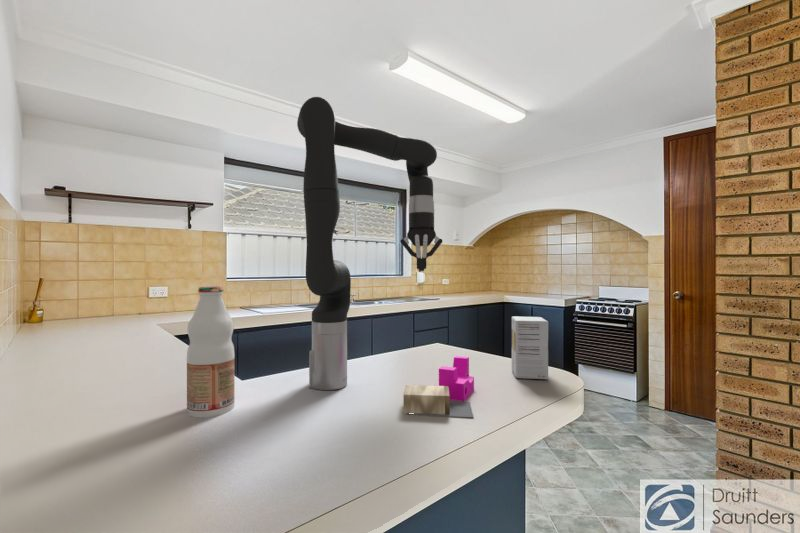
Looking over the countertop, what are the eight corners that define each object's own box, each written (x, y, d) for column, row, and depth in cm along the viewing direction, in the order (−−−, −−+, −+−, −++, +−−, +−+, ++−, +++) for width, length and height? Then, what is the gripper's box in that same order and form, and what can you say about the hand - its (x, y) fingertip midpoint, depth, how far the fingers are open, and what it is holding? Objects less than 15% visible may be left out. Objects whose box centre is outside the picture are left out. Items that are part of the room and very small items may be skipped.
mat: (398, 416, 84) (398, 414, 84) (402, 401, 93) (402, 400, 93) (473, 418, 83) (473, 416, 83) (469, 403, 92) (469, 402, 92)
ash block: (449, 414, 84) (403, 413, 85) (448, 403, 91) (405, 401, 92) (449, 395, 84) (403, 394, 85) (448, 386, 91) (405, 385, 92)
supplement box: (511, 369, 122) (510, 316, 122) (541, 370, 121) (541, 316, 121) (515, 378, 112) (515, 320, 112) (549, 379, 111) (549, 320, 111)
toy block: (463, 402, 93) (463, 371, 93) (438, 399, 96) (438, 368, 96) (478, 385, 107) (477, 358, 107) (455, 382, 109) (455, 355, 109)
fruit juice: (185, 426, 79) (185, 288, 79) (187, 411, 87) (187, 286, 87) (235, 418, 83) (235, 287, 83) (233, 404, 92) (233, 285, 92)
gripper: (397, 211, 112) (398, 271, 112) (444, 210, 111) (444, 271, 111) (400, 214, 119) (400, 271, 119) (443, 213, 118) (443, 270, 118)
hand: (421, 270), depth 115 cm, fingers closed
